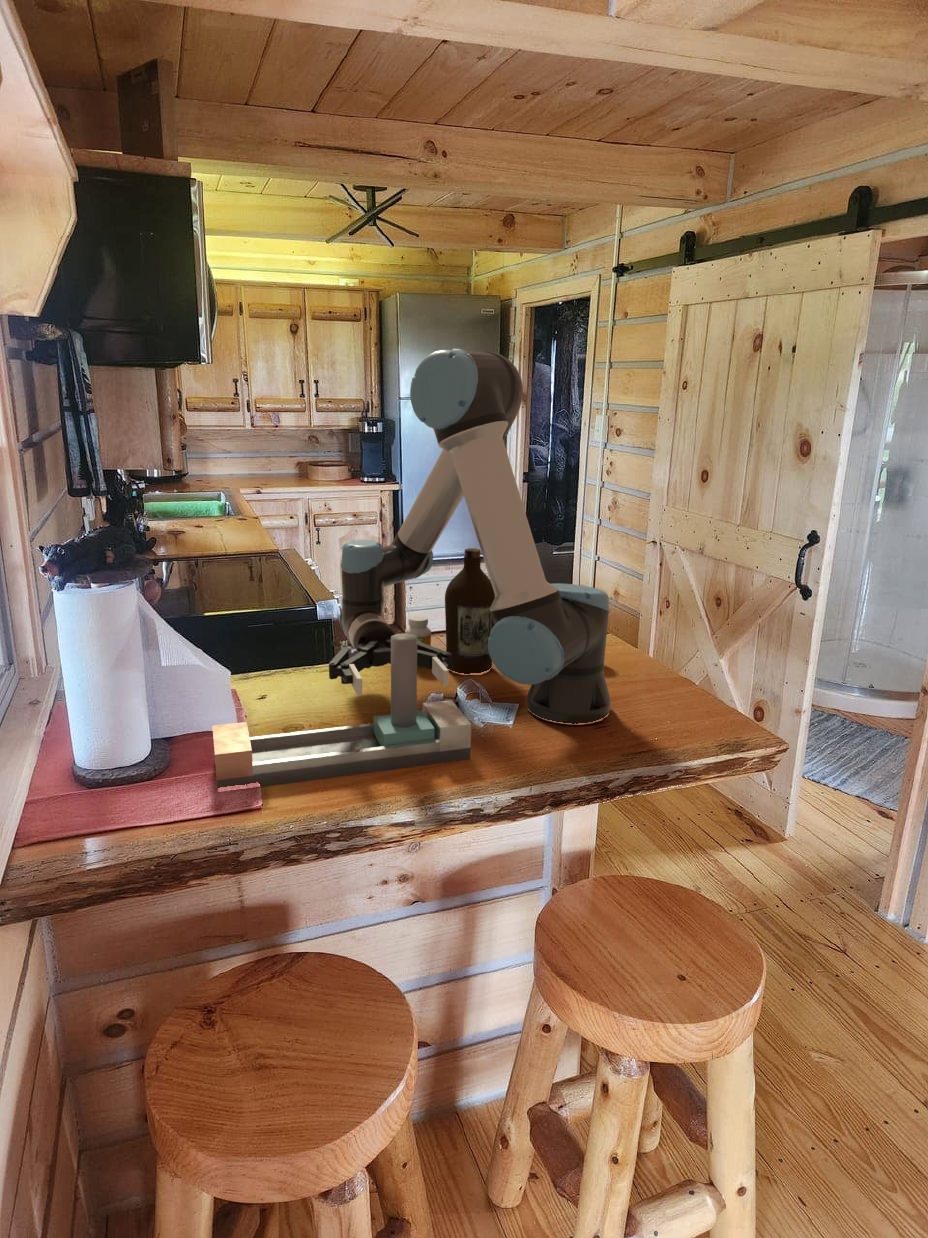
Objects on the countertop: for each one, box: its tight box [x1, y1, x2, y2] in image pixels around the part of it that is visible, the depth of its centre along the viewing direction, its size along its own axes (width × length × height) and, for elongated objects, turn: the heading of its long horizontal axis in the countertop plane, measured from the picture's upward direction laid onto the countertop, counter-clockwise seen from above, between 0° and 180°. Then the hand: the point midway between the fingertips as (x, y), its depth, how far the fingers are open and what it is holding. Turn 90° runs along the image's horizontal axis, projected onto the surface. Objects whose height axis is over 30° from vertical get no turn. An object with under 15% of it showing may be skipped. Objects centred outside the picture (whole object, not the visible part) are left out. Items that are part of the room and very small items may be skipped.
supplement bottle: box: [404, 615, 432, 646], centre depth 164 cm, size 5×5×10 cm
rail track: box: [211, 699, 472, 788], centre depth 122 cm, size 38×10×6 cm, turn 109°
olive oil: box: [444, 547, 495, 674], centre depth 159 cm, size 11×11×25 cm
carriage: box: [373, 633, 435, 746], centre depth 122 cm, size 8×7×17 cm
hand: (403, 682), depth 120 cm, fingers open, 13 cm apart
